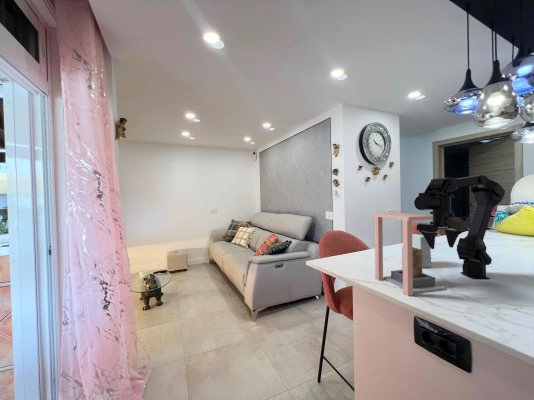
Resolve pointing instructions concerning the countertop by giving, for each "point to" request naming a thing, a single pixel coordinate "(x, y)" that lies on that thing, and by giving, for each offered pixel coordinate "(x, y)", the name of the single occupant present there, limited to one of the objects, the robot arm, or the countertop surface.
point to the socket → (415, 282)
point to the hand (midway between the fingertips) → (441, 248)
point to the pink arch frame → (407, 246)
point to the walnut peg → (416, 262)
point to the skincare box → (421, 243)
